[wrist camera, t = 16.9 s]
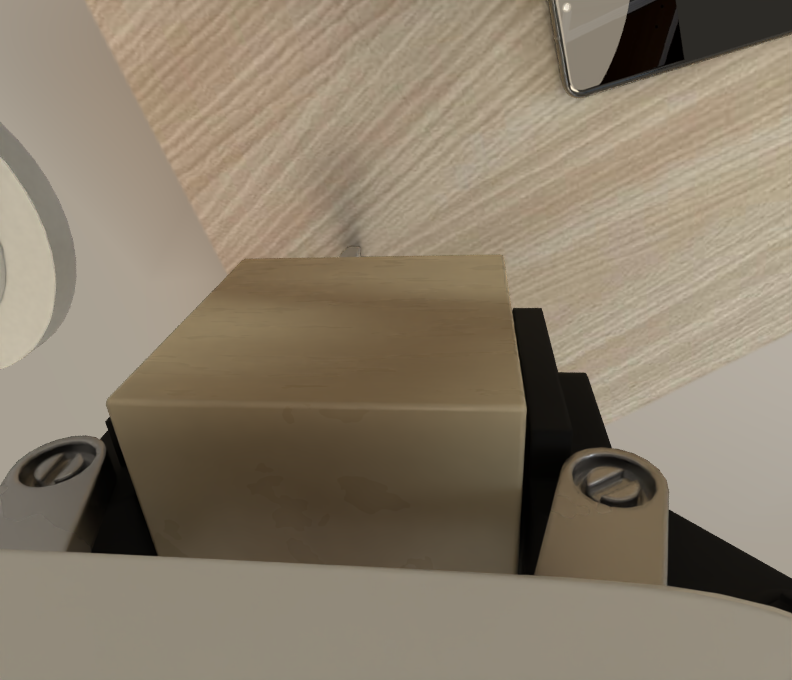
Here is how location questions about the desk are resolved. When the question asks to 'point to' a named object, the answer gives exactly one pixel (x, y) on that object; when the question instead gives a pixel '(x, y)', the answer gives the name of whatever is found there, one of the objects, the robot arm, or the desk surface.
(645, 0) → the smartphone
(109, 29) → the desk surface
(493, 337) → the block
